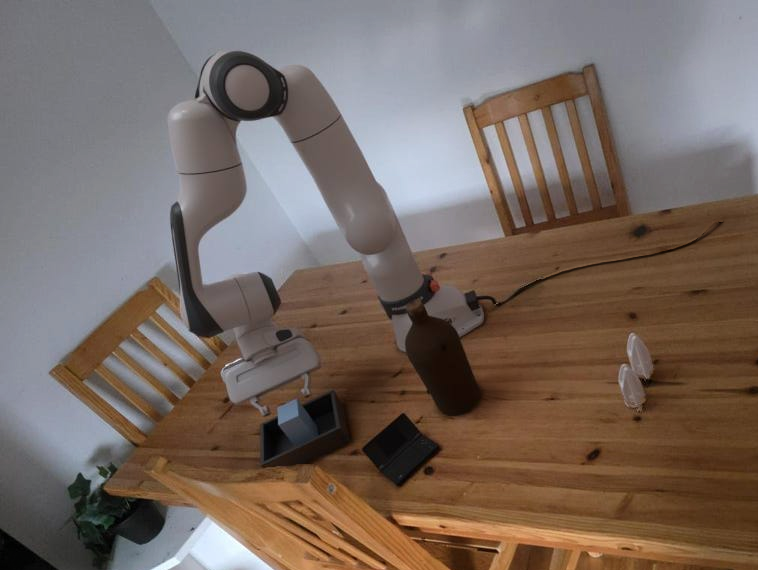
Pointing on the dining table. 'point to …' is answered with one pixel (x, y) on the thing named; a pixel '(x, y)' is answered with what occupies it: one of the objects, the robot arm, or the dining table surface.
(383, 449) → the handheld gaming console
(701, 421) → the dining table surface
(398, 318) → the robot arm
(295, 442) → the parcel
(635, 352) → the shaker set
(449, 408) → the olive oil
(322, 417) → the tote
